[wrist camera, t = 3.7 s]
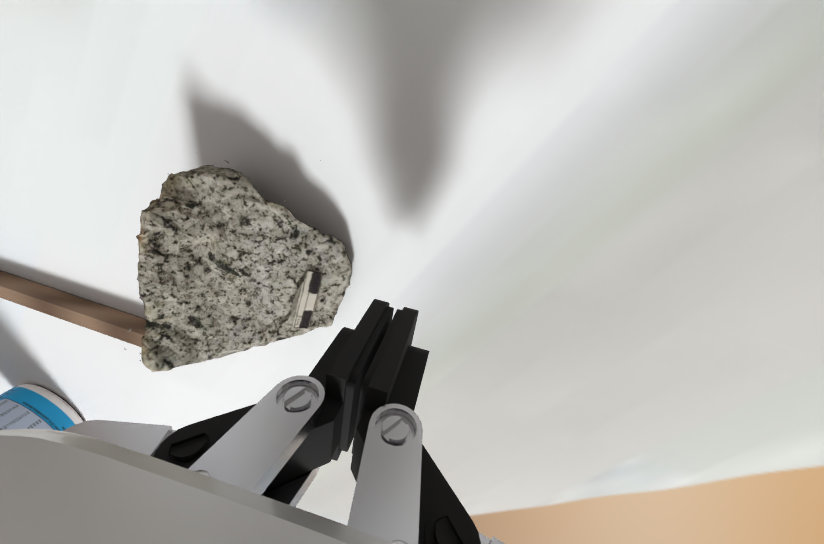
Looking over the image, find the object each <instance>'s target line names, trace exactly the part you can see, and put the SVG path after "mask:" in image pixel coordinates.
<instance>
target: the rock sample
mask: <svg viewBox="0 0 824 544" xmlns="http://www.w3.org/2000/svg"><path fill="white" fill-rule="evenodd" d="M225 161H226V160H225ZM320 161H321V160H320ZM226 162H227V163H229V162H228V161H226ZM289 192H290V191H289ZM284 201H285V200H284ZM286 202H287V201H286ZM140 222H141V231H140V234H139V235H138V236H136V237H137V239H138V241H139V263H138V277H137V280H138V281H139V294H140V297H139V298H140V299H142V300H143V302H144V309H145V313H144V315H146V316H147V319H146V323H145V333H144V334H143V336H142V338H141V341H142V362H143V364H144V365H145V366H146V367H147V368H148V369H150V370H151V371H152V372H154V371H168V370H171V369H173V368H175V367H178V366H183V365H188V364H193V363H199V362H202V361H206V360H211V359H213V358H221V357H224V356H226V355H229V354H232V353H236V352H240V351H246V350H248V349H250V348H251V347H253V346H265V345H267V344H269V343H271V342H275V341H278V340H282V339H286V338H290V337H293V336H297V335H302V334H304V333H306V332H309V331H311V330H313V329H315V328H318V327H328V326H331V325H332V323H333V320H334V317H335V315H336V314H337V310H338V307H339V305H340V303H341V301H342V299H343V297H344V294H345V290H346V288H347V287H348V286H349V285H350V278H351V271H352V266H351V263H350V261H349V259H348V258H347V252H348V251H347V252H346V251H345V250H344V249H345V246H344V245H343V244H342V242H341V241H339V240H337V239H335V238H334V237H333V235H327V234H322V233H320V232H319V231H318V230H317V229H316V228H314V227H310V226H308V225H306V224H304V223H302V222H300V221H299V220H297V219H296V218H295V217H294V216H293V215H292V213H291V212H290V211H289V210H288V209H286V208H285V207H284V206H281V205H279V204H276V203H272V202H269V201H266V200H264V199H263V198H262V196H261V195H260V194H259V193H258V191H257V190H256V189H255V187H254V186H253V185H252V183H251V182H250V181H249V179H248V178H246V177H245V176H243V175H242V174H241V173H240V172H238V171H235V170H233V169H230V168H215V167H214V166H213V165H205V166H201V167H199V168H197V169H192V170H190V171H187V172H185V171H183V172H179V173H177V174H172V173H171V174H170V175H169V176H168V178H167V180H166V181H165V182H164V183H163V184H162V189H161V195H160V198H159V199H156V200H152V201H151V202H150V206H149V207H148V208H147V209H145V210H142V213H141V217H140ZM350 288H351V287H350ZM139 330H140V329H139ZM130 331H131V329H130V330H129V331H127V332H130ZM137 345H138V344H137ZM139 348H140V347H139ZM126 350H127V349H126ZM140 354H141V353H140ZM140 361H141V360H140Z"/></svg>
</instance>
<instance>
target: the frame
mask: <svg viewBox="0 0 824 544" xmlns="http://www.w3.org/2000/svg"><path fill="white" fill-rule="evenodd" d="M0 298H3V299H6V300H9V301H12V302H14V303H17V304H20V305H23V306H26V307H29V308H31V309H34V310H37V311H40V312H43V313H46V314H49V315H51V316H54V317H57V318H60V319H63V320H66V321H68V322H71V323H74V324H77V325H80V326H83V327H86V328H88V329H91V330H94V331H97V332H100V333H103V334H105V335H108V336H111V337H114V338H117V339H120V340H123V341H125V342H128V343H131V344H134V345H137V344H138V345H137V346H140V347H142V341H141V338H142V336H143V334H144V333H145V323H146V320H145V319H143V318H140V317H137V316H134V315H131V314H128V313H125V312H122V311H119V310H116V309H113V308H110V307H107V306H104V305H101V304H98V303H95V302H92V301H89V300H86V299H83V298H80V297H77V296H74V295H71V294H68V293H65V292H62V291H59V290H56V289H53V288H50V287H47V286H44V285H41V284H38V283H35V282H32V281H29V280H26V279H23V278H20V277H17V276H14V275H12V274H9V273H6V272H3V271H0ZM130 329H131V331H130V332H127V331H129V330H130ZM139 329H140V330H139Z"/></svg>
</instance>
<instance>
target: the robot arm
mask: <svg viewBox="0 0 824 544" xmlns="http://www.w3.org/2000/svg"><path fill="white" fill-rule="evenodd" d="M393 310H394V308H392V307H389V303H388V302H384V301H381V300H377V299H374V300H373V302H372V303H371V305H370V307H369V308H368V310H367V311H366V313H365V314H364V316H363V317H362V319H361V321H360V322H359V324H358V325H357V327H356V328H355V330H353V329H349V328H346V327H344V328H342V330H341V331H340V332H339V334H338V335H337V336H336V338H335V339H334V341H333V342H332V343H331V345H330V346H329V348H328V349H327V351H326V352H325V353H324V355H323V356H322V358H321V359H320V360H319V362H318V363H317V365H316V366H315V368H314V369H313V370H312V372H311V373H310V375H309V376H294V377H290V378H287V379H285V380H283V381H281V382H280V383H279V384H277V385H276V386H275V387H274V388H273V389H272V390H271V391H270V392H269V393H268V394H267V395H266V396H264V397H263V398H262V399H261V400H260V401H259V402H258V403H257V404H254V405H251V406H248V407H245V408H241V409H238V410H235V411H232V412H229V413H225V414H222V415H219V416H216V417H213V418H210V419H206V420H203V421H200V422H197V423H194V424H191V425H188V426H185V427H183V428H181V429H178V430H177V431H176V430H172V427H171V426H165V425H153V424H141V423H129V422H117V421H105V420H92V421H86V422H82V423H79V424H75V425H73V426H71V427H69V428H67V429H65V430H63V431H58V430H47V429H11V430H0V544H504V543H503V542H501V541H500V540H498V539H497V538H495V537H492V539H491V540H490V539H489V538H487V537H486V536H484V535H483V534H481V533H479V532H478V531H477V529H476V527H475V525H474V523H473V521H472V519H471V518H470V516H469V515H468V513H467V512H466V510H465V509H464V507H463V505H462V504H461V502H460V501H459V499H458V498H457V496H456V495H455V493H454V492H453V490H452V489H451V487H450V486H449V484H448V483H447V481H446V480H445V478H444V476H443V475H442V473H441V472H440V470H439V469H438V467H437V466H436V464H435V463H434V461H433V460H432V458H431V457H430V455H429V454H428V452H427V450H426V449H425V447H424V446H423V444H422V433H423V430H422V423H421V421H420V419H419V417H418V415H417V414H416V413H415V412H414V409H415V405H416V401H417V397H418V393H419V389H420V385H421V381H422V377H423V373H424V370H425V366H426V362H427V358H428V354H429V351H427V350H424V349H420V348H416V347H413V346H411V344H412V339H413V335H414V330H415V326H416V321H417V316H418V310H414V309H410V308H407V307H404V308H403V310H399V309H397V311H396V313H395V315H394V317H393V319H392V316H393ZM353 438H354V440H353ZM352 440H353V447H352V454H353V456H352V463H351V471H352V473H353V475H354V478H355V480H356V482H357V483H356V487H355V492H354V497H353V501H352V506H351V511H350V516H349V520H348V525H347V526H346V525H343V524H341V523H338V522H335V521H332V520H330V519H327V518H324V517H321V516H318V515H316V514H313V513H310V512H307V511H304V510H302V509H299V508H296V505H297V504H298V502H299V501H300V499H301V498H302V496H303V495H304V493H305V492H306V490H307V489H308V487H309V486H310V484H311V483H312V481H313V480H314V478H315V476H316V475H317V472H318V470H319V467H320V466H322V465H325V464H327V463H329V462H330V461H331V459H333V460H336V461H337V460H338V458H339V455H340V453H341V451H342V450H343V451H346V452H347V451H348V449H349V447H350V445H351V443H352Z"/></svg>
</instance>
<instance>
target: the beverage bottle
mask: <svg viewBox="0 0 824 544" xmlns="http://www.w3.org/2000/svg"><path fill="white" fill-rule="evenodd" d="M82 422H83V420H82V419H81V417H80V416H79V415H78V413H77V412H76V411H75V410H74V409H73V408H72V407H71V406H70V405H69V404H67V403H66V402H65V401H64V400H63V399H61V398H60V397H58V396H57V395H55V394H54V393H52V392H50V391H49V390H47V389H45V388H42V387H40V386H36V385H32V384H22V385H18V386H16V387H14V388H12V389H10V390H8V391H7V392H5V393H3V394H1V395H0V430H11V429H47V430H58V431H63V430H65V429H67V428H69V427H71V426H73V425H75V424H79V423H82Z"/></svg>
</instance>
